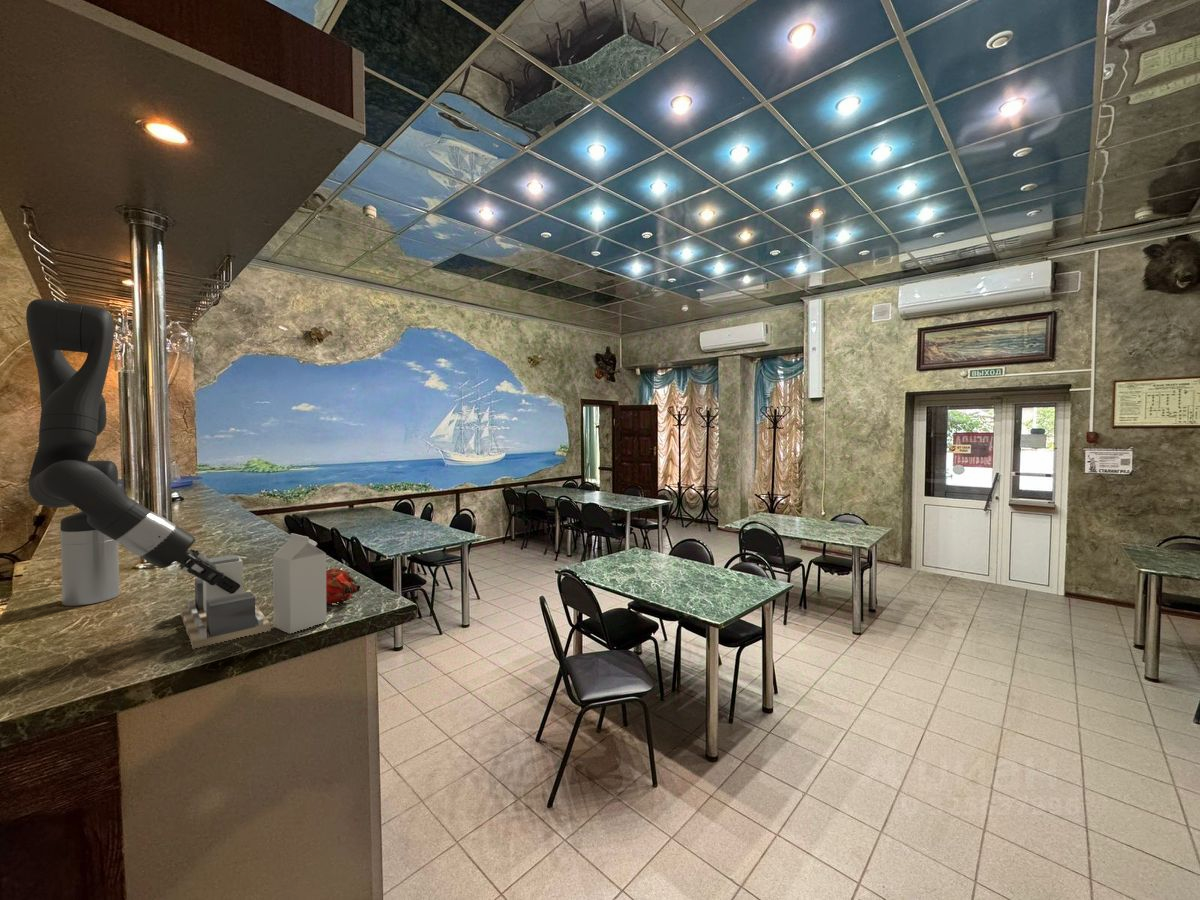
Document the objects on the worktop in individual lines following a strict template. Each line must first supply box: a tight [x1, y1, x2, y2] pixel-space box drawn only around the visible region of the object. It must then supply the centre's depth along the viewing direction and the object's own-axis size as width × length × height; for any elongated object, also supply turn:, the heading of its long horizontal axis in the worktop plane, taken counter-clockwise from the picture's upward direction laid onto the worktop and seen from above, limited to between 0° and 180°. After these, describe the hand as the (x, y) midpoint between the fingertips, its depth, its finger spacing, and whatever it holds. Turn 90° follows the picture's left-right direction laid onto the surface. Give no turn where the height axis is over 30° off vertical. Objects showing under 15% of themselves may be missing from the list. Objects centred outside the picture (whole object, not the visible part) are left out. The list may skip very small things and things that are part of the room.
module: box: [203, 554, 244, 613], centre depth 99 cm, size 5×6×11 cm
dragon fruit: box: [326, 567, 361, 605], centre depth 112 cm, size 8×8×12 cm
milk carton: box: [272, 532, 327, 635], centre depth 98 cm, size 7×7×19 cm
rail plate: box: [179, 577, 272, 650], centre depth 100 cm, size 24×12×8 cm, turn 46°
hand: (234, 586), depth 101 cm, fingers closed on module, 5 cm apart
